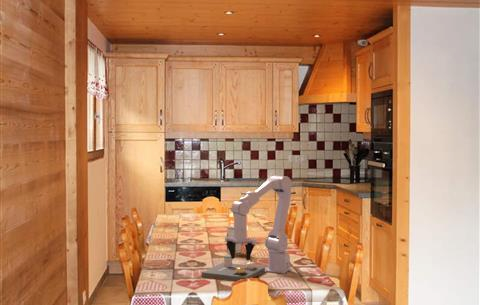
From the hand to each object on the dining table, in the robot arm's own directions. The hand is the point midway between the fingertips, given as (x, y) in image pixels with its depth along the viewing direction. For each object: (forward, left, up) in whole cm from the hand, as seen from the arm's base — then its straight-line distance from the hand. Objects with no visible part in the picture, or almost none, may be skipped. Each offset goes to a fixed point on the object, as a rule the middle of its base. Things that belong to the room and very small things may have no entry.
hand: (240, 259), depth 245 cm
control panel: (+6, -5, -8) cm, 11 cm away
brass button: (0, 0, -7) cm, 7 cm away
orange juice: (+40, -76, -9) cm, 86 cm away
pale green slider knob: (+11, -9, -6) cm, 16 cm away
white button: (0, -10, -7) cm, 12 cm away
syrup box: (+26, -44, -9) cm, 52 cm away
